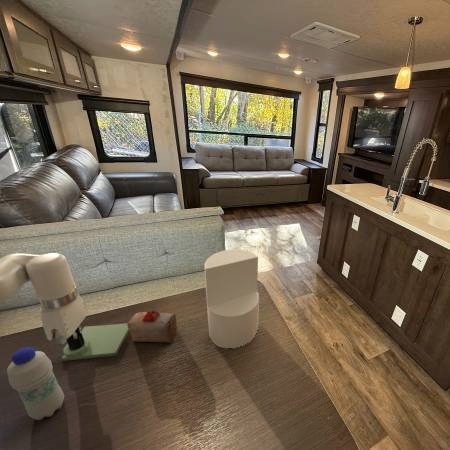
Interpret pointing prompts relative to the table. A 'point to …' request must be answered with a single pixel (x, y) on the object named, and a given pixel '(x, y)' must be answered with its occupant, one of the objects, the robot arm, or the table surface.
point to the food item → (153, 327)
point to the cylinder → (232, 297)
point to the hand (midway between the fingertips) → (77, 345)
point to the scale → (98, 342)
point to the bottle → (35, 382)
